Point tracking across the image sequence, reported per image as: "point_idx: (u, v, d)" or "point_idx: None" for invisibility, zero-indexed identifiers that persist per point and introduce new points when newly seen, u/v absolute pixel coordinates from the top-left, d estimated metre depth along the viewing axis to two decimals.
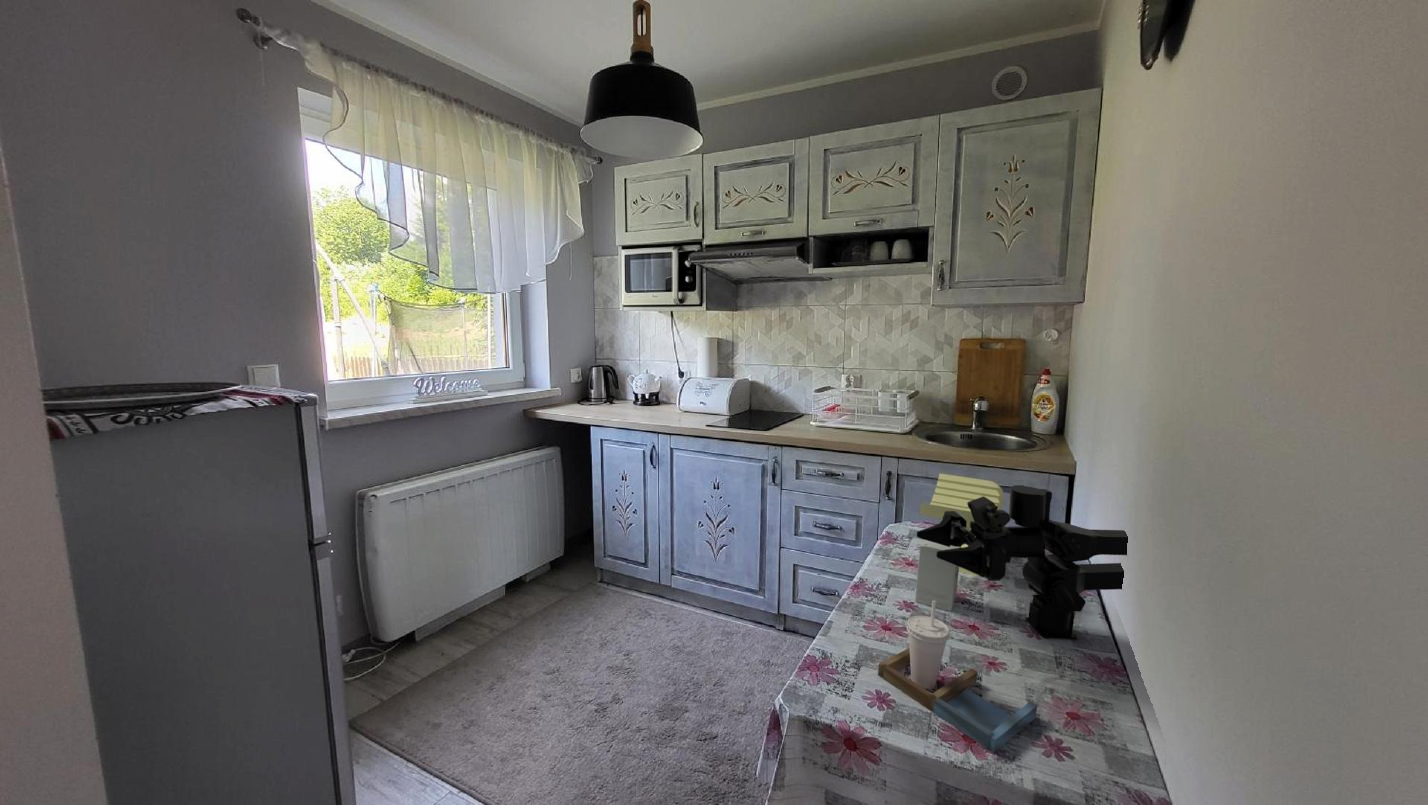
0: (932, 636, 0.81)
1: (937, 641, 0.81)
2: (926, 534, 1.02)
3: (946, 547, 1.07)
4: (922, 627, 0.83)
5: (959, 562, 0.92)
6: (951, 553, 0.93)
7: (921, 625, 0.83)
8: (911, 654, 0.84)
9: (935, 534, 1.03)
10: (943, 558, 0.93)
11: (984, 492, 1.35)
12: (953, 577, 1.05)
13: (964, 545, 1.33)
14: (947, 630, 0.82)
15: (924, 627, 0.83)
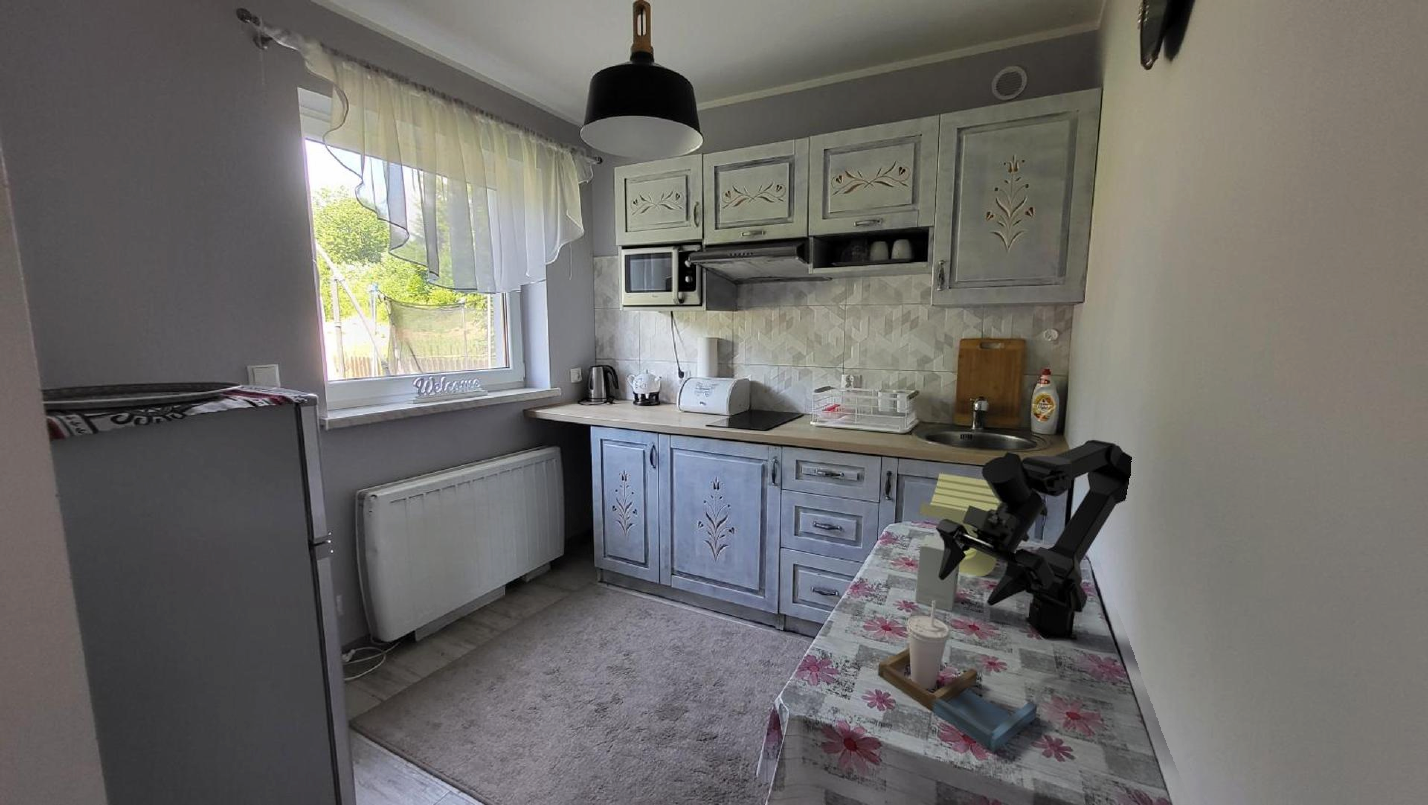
0: (932, 636, 0.81)
1: (937, 641, 0.81)
2: (947, 570, 0.91)
3: None
4: (922, 627, 0.83)
5: (1010, 593, 0.83)
6: (999, 593, 0.82)
7: (921, 625, 0.83)
8: (911, 654, 0.84)
9: (952, 561, 0.92)
10: (996, 602, 0.83)
11: (984, 492, 1.35)
12: (953, 577, 1.05)
13: None
14: (947, 630, 0.82)
15: (924, 627, 0.83)
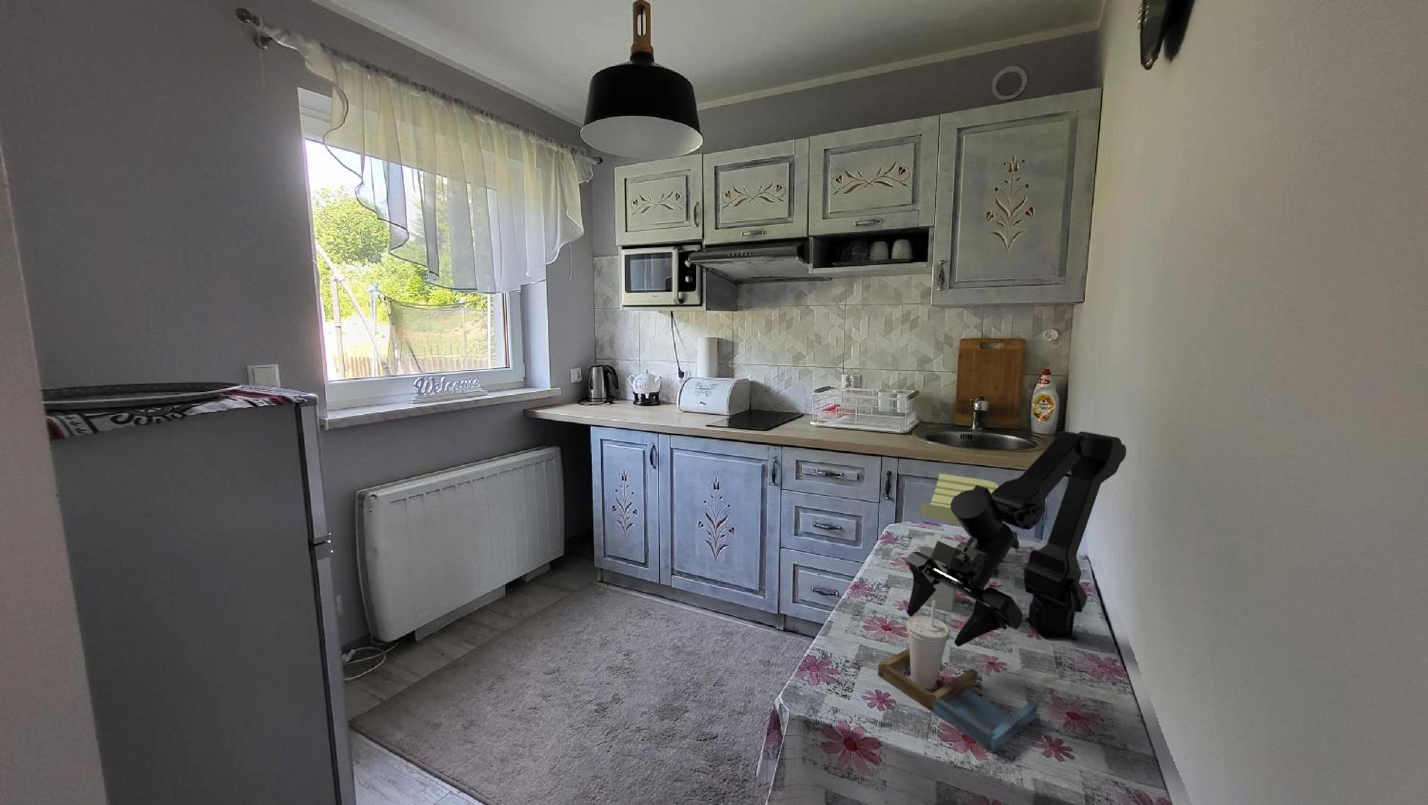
0: (932, 636, 0.81)
1: (937, 641, 0.81)
2: (915, 606, 0.88)
3: None
4: (922, 627, 0.83)
5: (978, 633, 0.80)
6: (967, 634, 0.79)
7: (921, 625, 0.83)
8: (911, 654, 0.84)
9: (921, 597, 0.89)
10: (963, 642, 0.80)
11: None
12: None
13: None
14: (947, 630, 0.82)
15: (924, 627, 0.83)
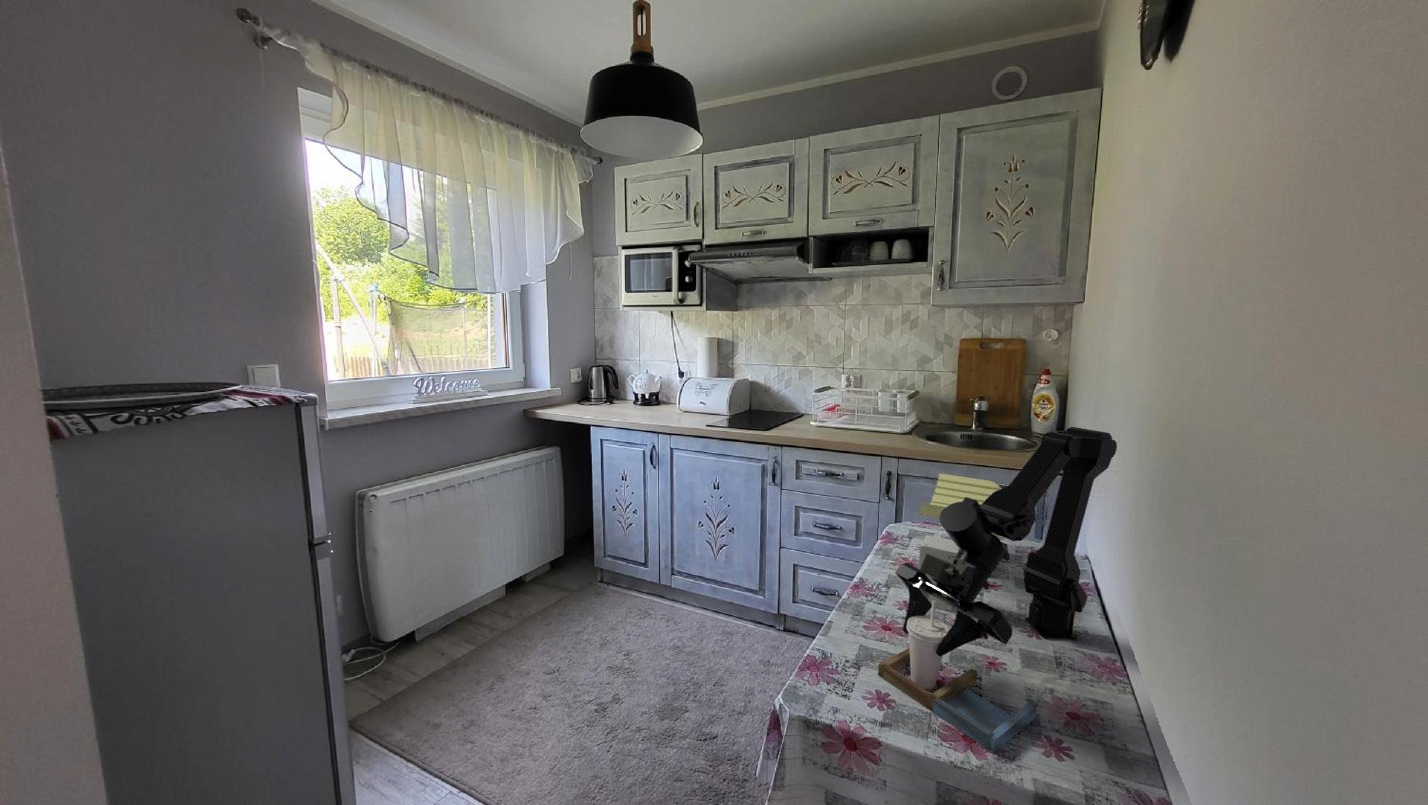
0: (932, 636, 0.81)
1: (937, 641, 0.81)
2: None
3: (946, 547, 1.07)
4: (922, 627, 0.83)
5: (959, 643, 0.80)
6: (948, 644, 0.80)
7: (921, 625, 0.83)
8: (911, 654, 0.84)
9: (917, 613, 0.87)
10: (945, 652, 0.80)
11: (984, 492, 1.35)
12: None
13: None
14: (947, 630, 0.82)
15: (924, 627, 0.83)
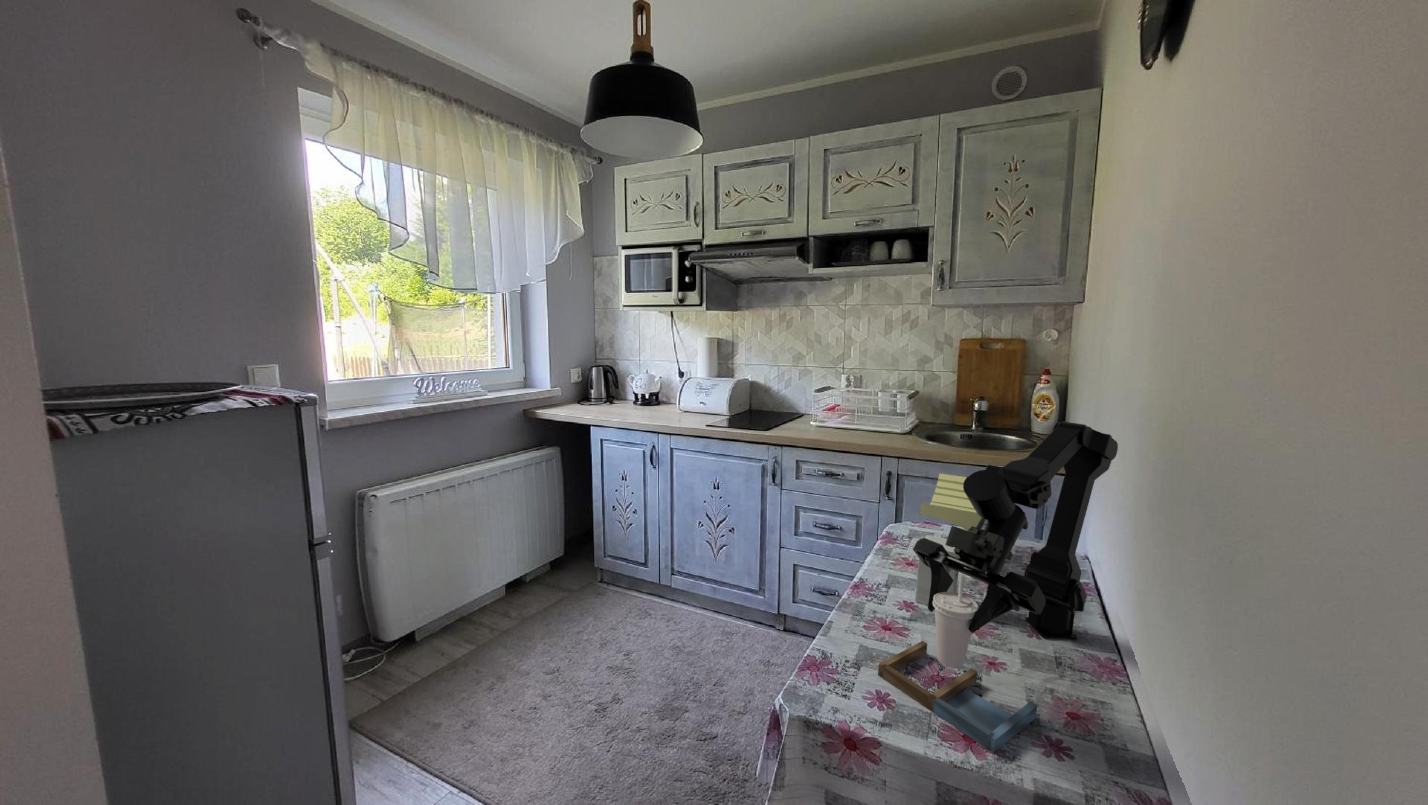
0: (963, 612, 0.76)
1: (968, 617, 0.76)
2: None
3: (946, 547, 1.07)
4: (950, 603, 0.78)
5: (991, 617, 0.76)
6: (981, 618, 0.76)
7: (949, 601, 0.79)
8: (939, 633, 0.79)
9: (940, 589, 0.82)
10: (977, 628, 0.76)
11: None
12: (953, 577, 1.05)
13: None
14: (976, 605, 0.78)
15: (952, 603, 0.78)
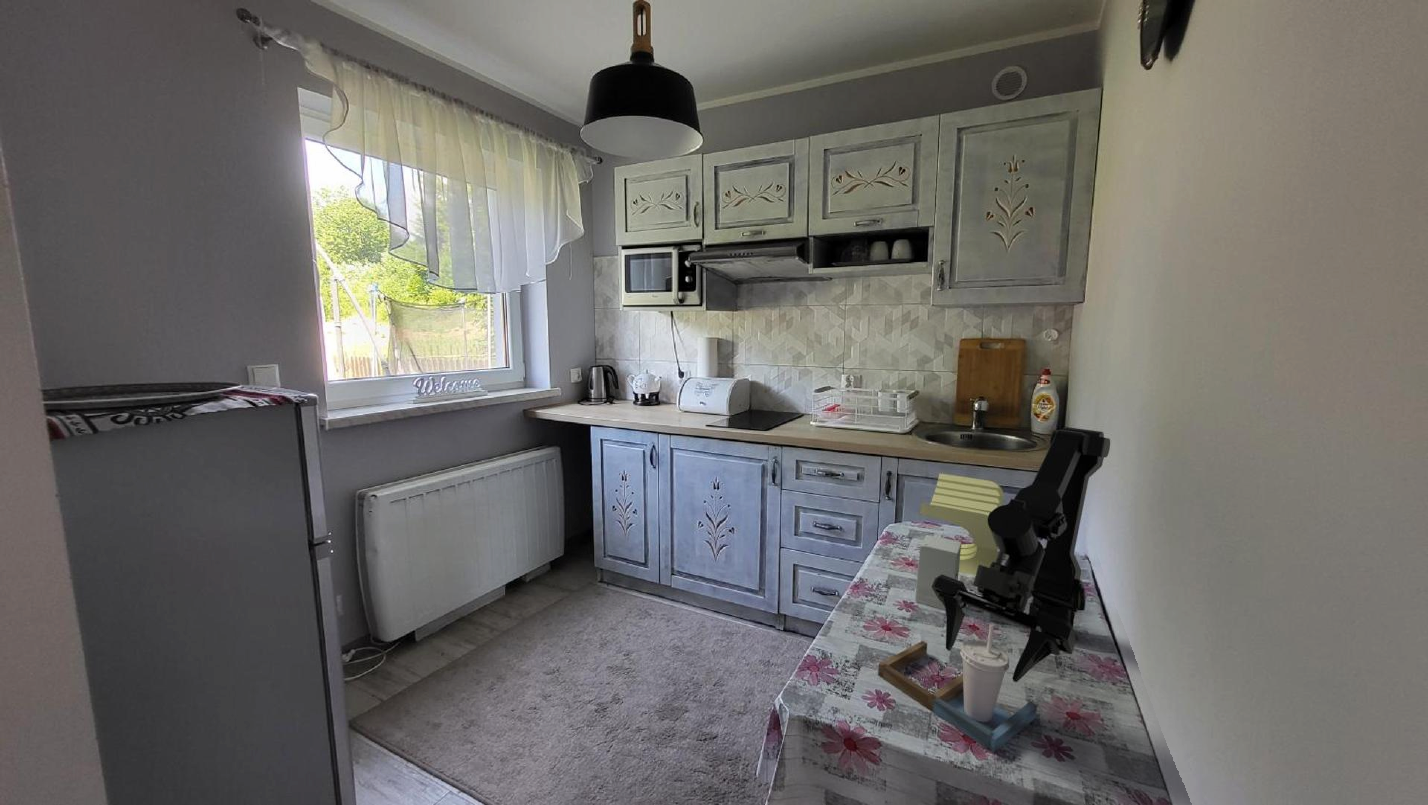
0: (997, 665, 0.73)
1: (1001, 670, 0.74)
2: (953, 638, 0.79)
3: (946, 547, 1.07)
4: (981, 655, 0.75)
5: (1033, 663, 0.73)
6: (1025, 667, 0.72)
7: (979, 653, 0.76)
8: (968, 686, 0.76)
9: (956, 626, 0.80)
10: (1021, 677, 0.72)
11: (984, 492, 1.35)
12: (953, 577, 1.05)
13: (964, 545, 1.33)
14: (1005, 655, 0.76)
15: (983, 655, 0.75)
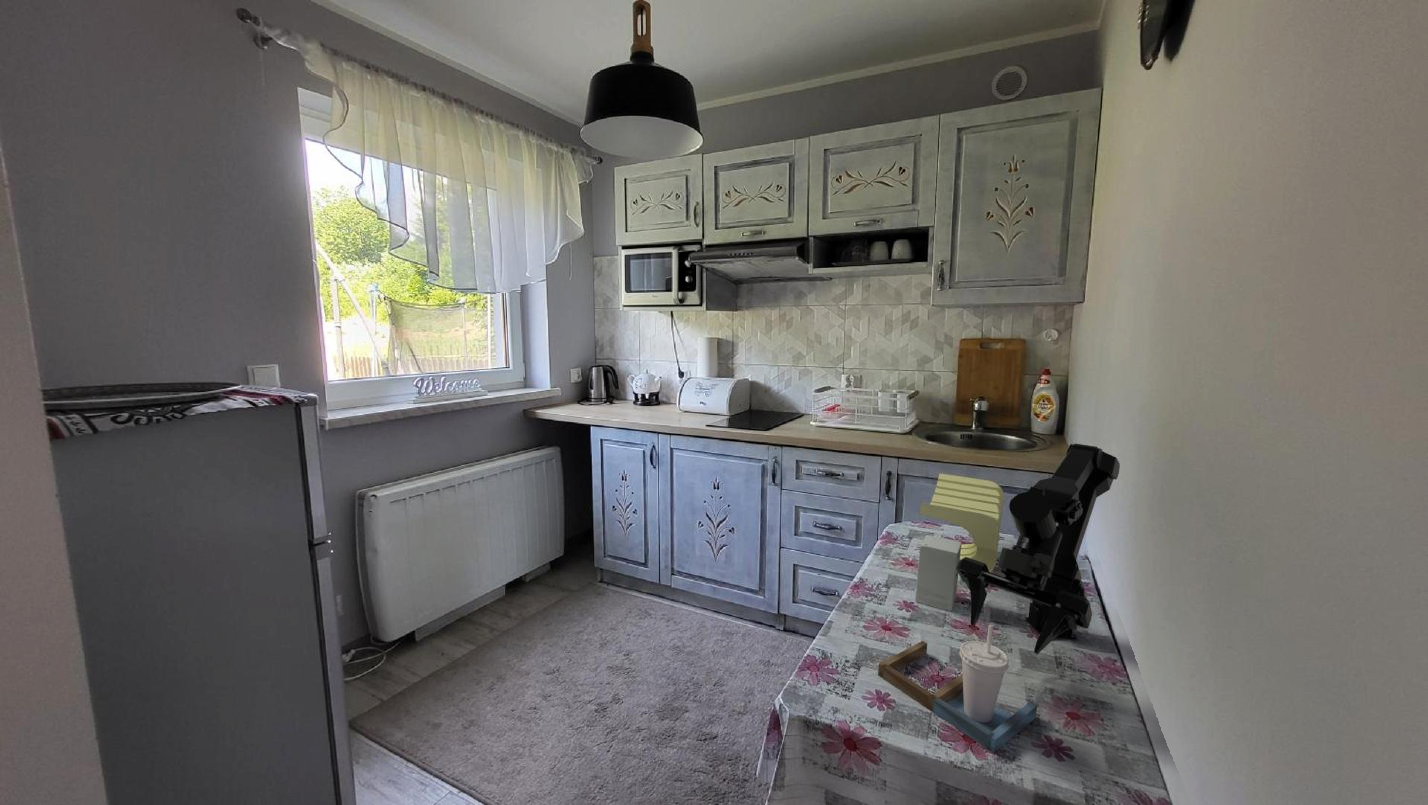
0: (996, 665, 0.73)
1: (1000, 670, 0.74)
2: (977, 615, 0.86)
3: (946, 547, 1.07)
4: (980, 656, 0.75)
5: (1052, 637, 0.79)
6: (1046, 640, 0.78)
7: (978, 653, 0.76)
8: (968, 686, 0.76)
9: (980, 604, 0.87)
10: (1041, 649, 0.79)
11: (984, 492, 1.35)
12: (953, 577, 1.05)
13: (964, 545, 1.33)
14: (1004, 655, 0.76)
15: (982, 655, 0.75)
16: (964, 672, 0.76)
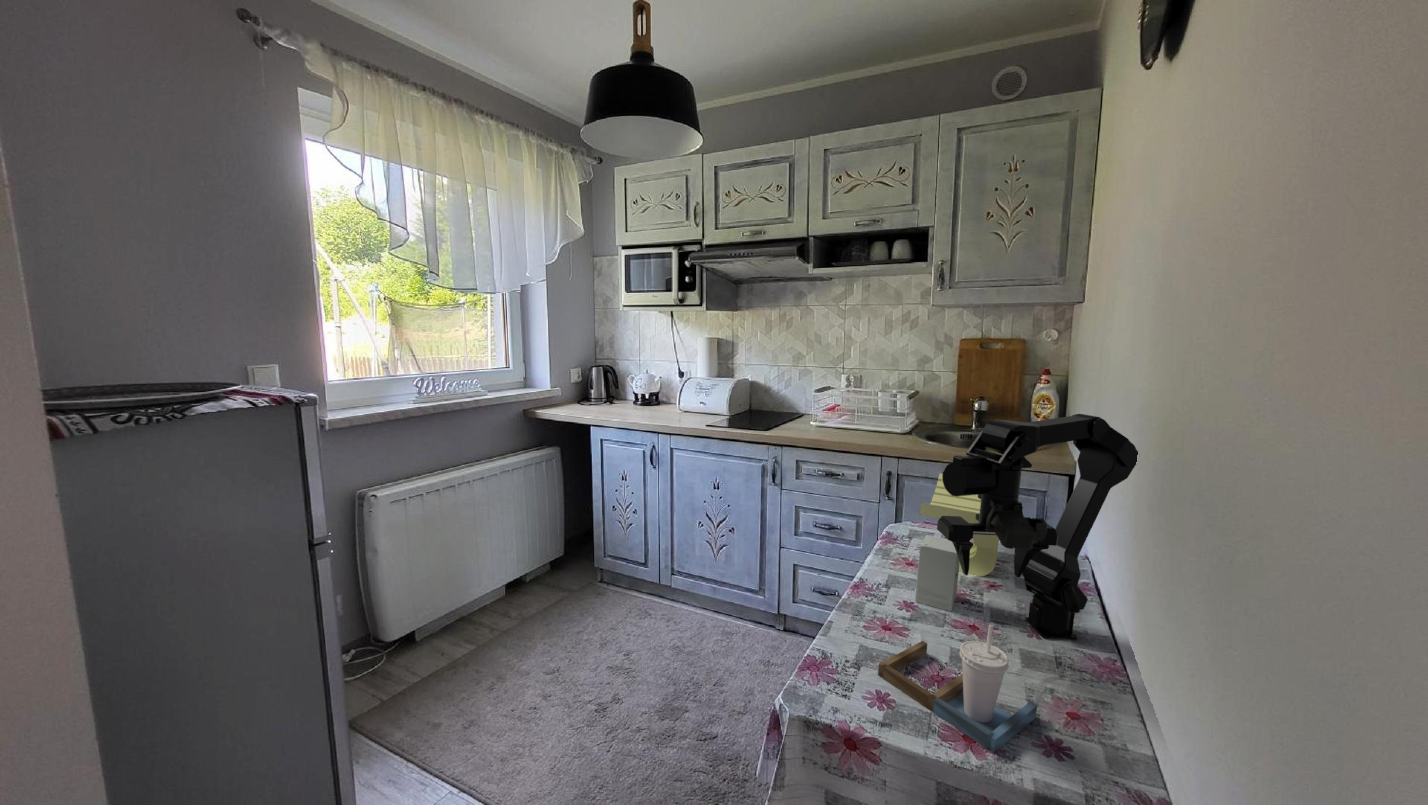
0: (996, 665, 0.73)
1: (1000, 670, 0.74)
2: None
3: (946, 547, 1.07)
4: (980, 656, 0.75)
5: None
6: None
7: (978, 653, 0.76)
8: (968, 686, 0.76)
9: None
10: None
11: None
12: (953, 577, 1.05)
13: None
14: (1004, 655, 0.76)
15: (982, 655, 0.75)
16: (964, 672, 0.76)
